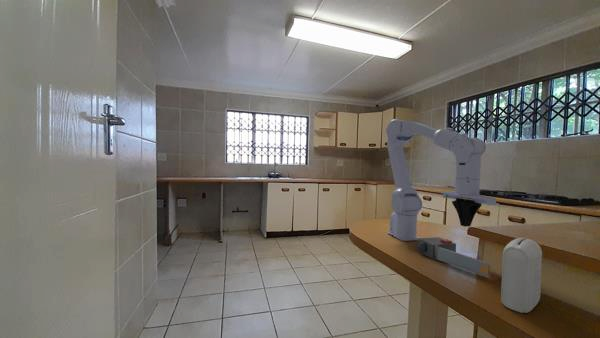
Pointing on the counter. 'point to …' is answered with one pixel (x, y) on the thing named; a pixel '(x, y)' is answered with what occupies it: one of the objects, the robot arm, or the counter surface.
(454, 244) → the grey low box
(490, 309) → the counter surface
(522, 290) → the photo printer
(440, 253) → the side door
